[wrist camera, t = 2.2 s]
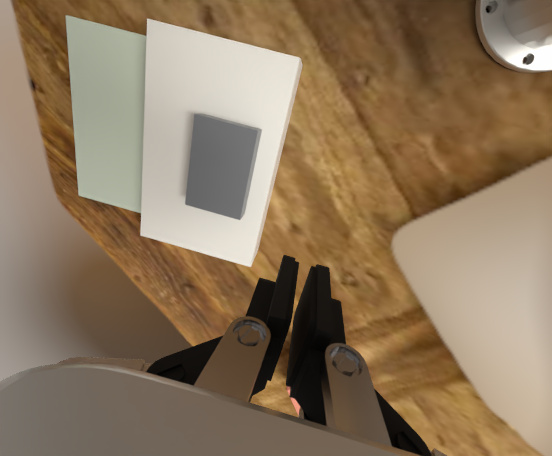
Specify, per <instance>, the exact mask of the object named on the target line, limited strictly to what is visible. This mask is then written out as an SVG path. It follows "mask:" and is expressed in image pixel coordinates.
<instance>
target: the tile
mask: <svg viewBox="0 0 552 456" xmlns="http://www.w3.org/2000/svg"><path fill="white" fill-rule="evenodd" d="M261 132H262V129H258V128H255V127H251V126H247V125H244V124H240V123H236V122H232V121H229V120H225V119H221V118H218V117H214V116H210V115H206V114H194V122H193V131H192V141H191V151H190V161H189V170H188V180H187V190H186V199H185V205H188V206H192V207H195V208H199V209H202V210H206V211H209V212H213V213H216V214H220V215H223V216H227V217H230V218H234V219H238V220H241V218H242V217H243V215H244V214H245V210H246V205H247V200H248V196H249V191H250V186H251V181H252V176H253V171H254V166H255V162H256V157H257V152H258V147H259V142H260V137H261Z"/></svg>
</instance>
